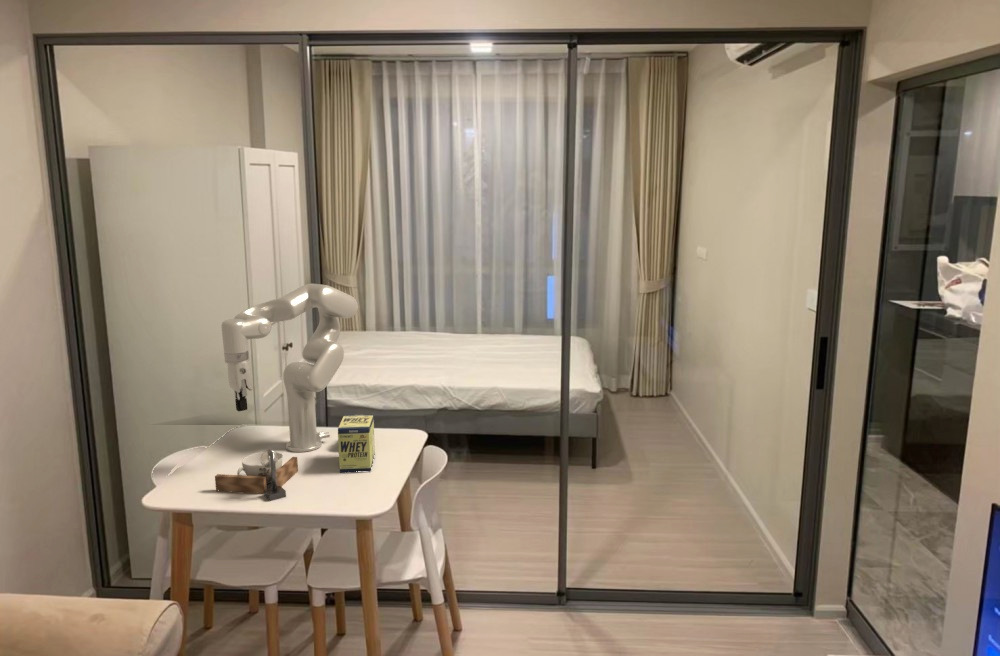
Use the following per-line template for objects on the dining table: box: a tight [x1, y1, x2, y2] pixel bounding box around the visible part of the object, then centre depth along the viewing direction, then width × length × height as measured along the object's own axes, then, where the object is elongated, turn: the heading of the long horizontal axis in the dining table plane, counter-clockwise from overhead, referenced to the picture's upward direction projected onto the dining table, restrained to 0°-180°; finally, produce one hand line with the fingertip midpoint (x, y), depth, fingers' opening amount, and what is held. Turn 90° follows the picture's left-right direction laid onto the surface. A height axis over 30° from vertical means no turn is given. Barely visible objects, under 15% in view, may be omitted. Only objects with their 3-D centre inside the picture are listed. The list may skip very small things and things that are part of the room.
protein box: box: [337, 413, 376, 474], centre depth 243 cm, size 10×16×16 cm
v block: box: [214, 456, 299, 495], centre depth 226 cm, size 27×12×5 cm, turn 127°
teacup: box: [236, 451, 284, 485], centre depth 229 cm, size 15×12×8 cm
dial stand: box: [260, 449, 287, 502], centre depth 218 cm, size 5×6×14 cm
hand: (241, 409), depth 238 cm, fingers closed
